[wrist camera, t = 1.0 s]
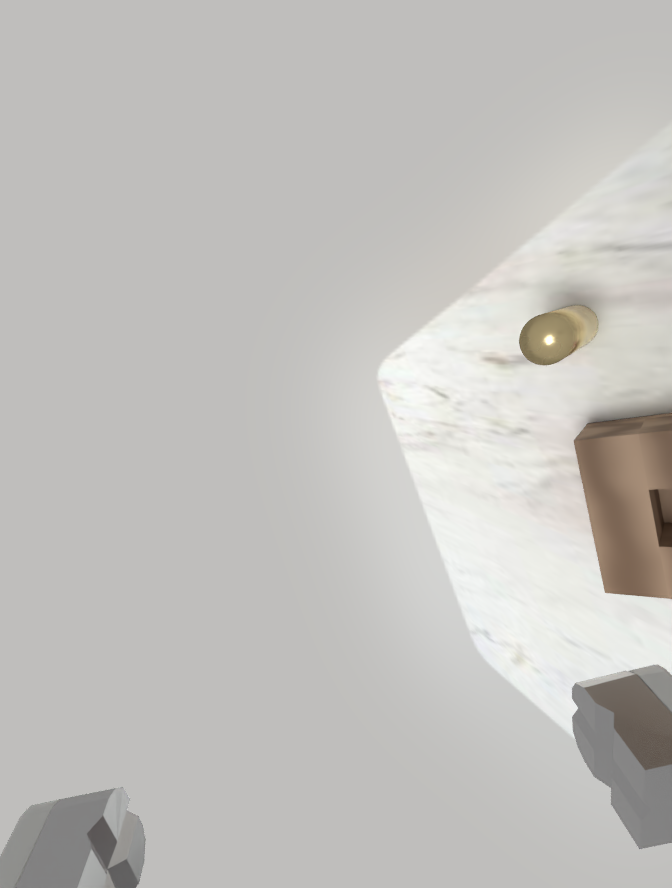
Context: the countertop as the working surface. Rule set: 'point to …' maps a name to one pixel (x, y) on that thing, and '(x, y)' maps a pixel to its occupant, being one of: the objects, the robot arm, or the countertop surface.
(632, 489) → the hole block
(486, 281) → the countertop surface
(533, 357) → the pin
